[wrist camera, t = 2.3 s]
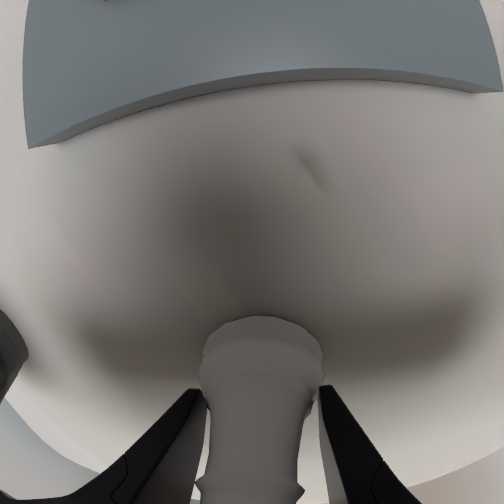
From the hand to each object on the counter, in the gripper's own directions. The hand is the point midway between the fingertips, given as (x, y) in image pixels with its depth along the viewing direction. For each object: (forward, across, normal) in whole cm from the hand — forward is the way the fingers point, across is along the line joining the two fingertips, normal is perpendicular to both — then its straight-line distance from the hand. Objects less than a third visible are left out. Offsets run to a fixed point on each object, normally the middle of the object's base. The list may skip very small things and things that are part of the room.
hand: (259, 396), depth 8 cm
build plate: (+2, -1, -16) cm, 16 cm away
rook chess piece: (+2, 0, 0) cm, 2 cm away
